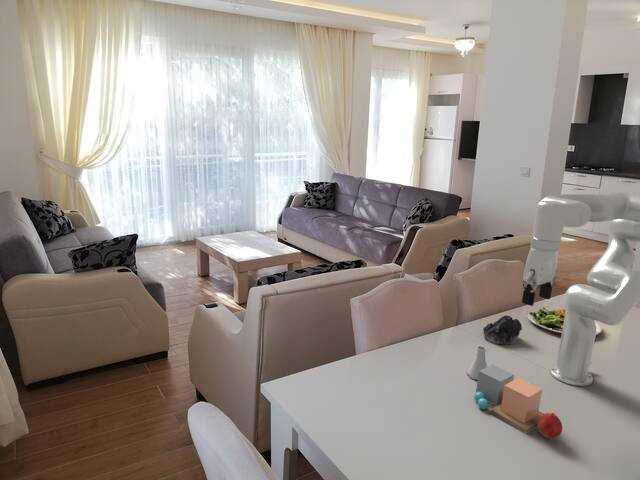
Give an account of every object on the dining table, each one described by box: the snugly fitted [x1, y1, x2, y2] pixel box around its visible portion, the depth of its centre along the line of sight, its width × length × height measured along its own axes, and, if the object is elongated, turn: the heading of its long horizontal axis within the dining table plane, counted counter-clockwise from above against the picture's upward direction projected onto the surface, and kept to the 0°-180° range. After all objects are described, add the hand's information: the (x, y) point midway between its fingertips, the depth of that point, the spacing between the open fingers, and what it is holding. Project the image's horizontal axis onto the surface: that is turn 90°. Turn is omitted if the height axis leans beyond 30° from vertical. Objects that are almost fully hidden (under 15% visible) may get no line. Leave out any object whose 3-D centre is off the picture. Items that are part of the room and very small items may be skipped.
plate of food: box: [526, 307, 603, 335], centre depth 198 cm, size 28×28×6 cm
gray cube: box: [475, 364, 515, 407], centre depth 143 cm, size 7×7×8 cm
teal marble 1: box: [473, 391, 485, 403], centre depth 140 cm, size 3×3×3 cm
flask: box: [466, 345, 488, 381], centre depth 154 cm, size 7×7×10 cm
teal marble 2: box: [477, 398, 490, 410], centre depth 137 cm, size 3×3×3 cm
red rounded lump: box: [537, 411, 563, 440], centre depth 125 cm, size 6×6×8 cm
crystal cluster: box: [482, 315, 523, 345], centre depth 183 cm, size 13×14×10 cm
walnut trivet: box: [489, 403, 545, 435], centre depth 134 cm, size 11×11×1 cm
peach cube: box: [501, 377, 543, 423], centre depth 133 cm, size 7×7×8 cm
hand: (536, 300), depth 139 cm, fingers open, 9 cm apart
